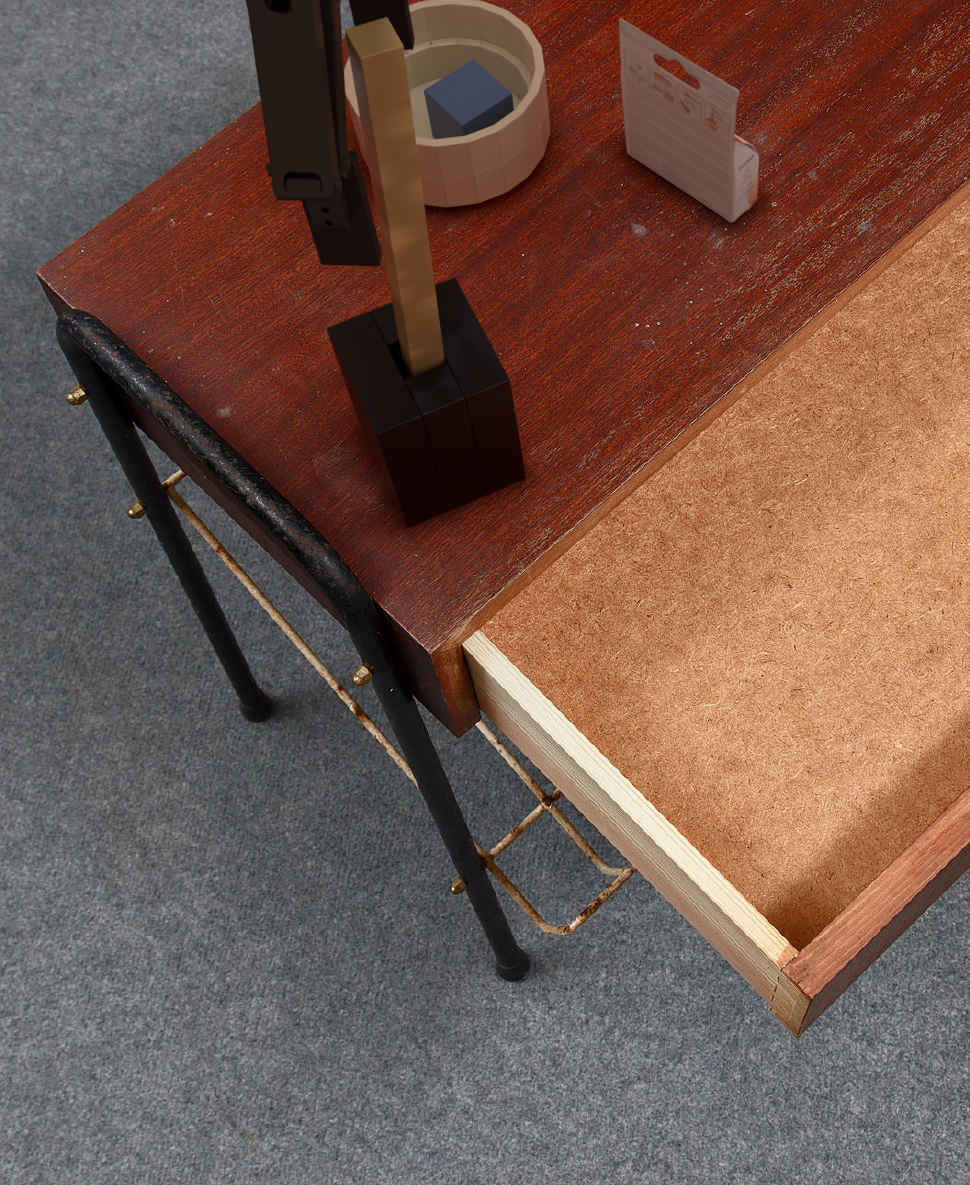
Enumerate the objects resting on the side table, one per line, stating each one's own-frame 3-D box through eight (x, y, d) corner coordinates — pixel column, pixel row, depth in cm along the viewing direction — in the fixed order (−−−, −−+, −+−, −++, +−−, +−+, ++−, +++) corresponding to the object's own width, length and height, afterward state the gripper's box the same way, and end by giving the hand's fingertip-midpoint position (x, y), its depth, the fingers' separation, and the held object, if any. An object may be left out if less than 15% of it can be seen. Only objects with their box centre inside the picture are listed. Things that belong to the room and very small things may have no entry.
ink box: (647, 131, 91) (647, -13, 81) (758, 203, 88) (771, 63, 78) (618, 157, 90) (614, 15, 80) (729, 230, 87) (739, 92, 77)
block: (469, 171, 90) (462, 125, 86) (432, 136, 91) (423, 90, 87) (517, 139, 91) (512, 93, 87) (480, 105, 92) (473, 58, 88)
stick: (429, 472, 80) (360, 58, 54) (417, 448, 81) (344, 29, 54) (458, 461, 81) (403, 45, 54) (446, 438, 82) (387, 16, 55)
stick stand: (407, 529, 79) (376, 434, 70) (361, 429, 82) (325, 327, 73) (526, 478, 80) (510, 379, 71) (476, 382, 83) (455, 276, 74)
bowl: (403, 239, 88) (387, 173, 83) (335, 109, 93) (316, 38, 88) (581, 171, 90) (576, 101, 85) (504, 46, 95) (496, -27, 90)
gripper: (320, -48, 42) (419, 363, 61) (413, -505, 53) (472, -35, 72) (77, -51, 42) (250, 358, 61) (219, -504, 53) (328, -37, 72)
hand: (370, 147), depth 67 cm, fingers open, 13 cm apart
